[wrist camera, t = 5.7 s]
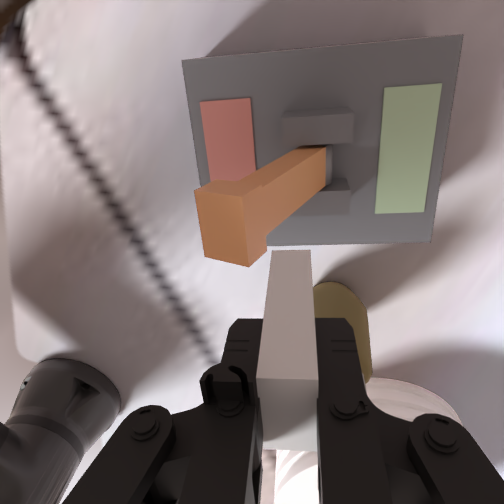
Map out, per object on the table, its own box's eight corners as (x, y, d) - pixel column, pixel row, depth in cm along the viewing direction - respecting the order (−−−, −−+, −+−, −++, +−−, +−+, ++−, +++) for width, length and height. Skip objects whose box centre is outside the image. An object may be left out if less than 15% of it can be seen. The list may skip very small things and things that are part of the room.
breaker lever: (305, 181, 32) (204, 256, 22) (304, 133, 30) (194, 190, 20) (339, 185, 31) (248, 267, 20) (341, 134, 29) (241, 196, 18)
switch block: (224, 214, 43) (203, 263, 33) (204, 57, 36) (169, 61, 26) (407, 208, 40) (441, 259, 31) (428, 36, 33) (482, 33, 23)
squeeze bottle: (350, 263, 44) (378, 384, 29) (372, 315, 48) (407, 448, 32) (287, 285, 47) (280, 406, 31) (311, 332, 50) (316, 464, 34)
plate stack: (244, 411, 59) (233, 486, 49) (421, 350, 50) (452, 427, 40) (327, 506, 69) (332, 584, 59) (488, 470, 60) (527, 556, 50)
